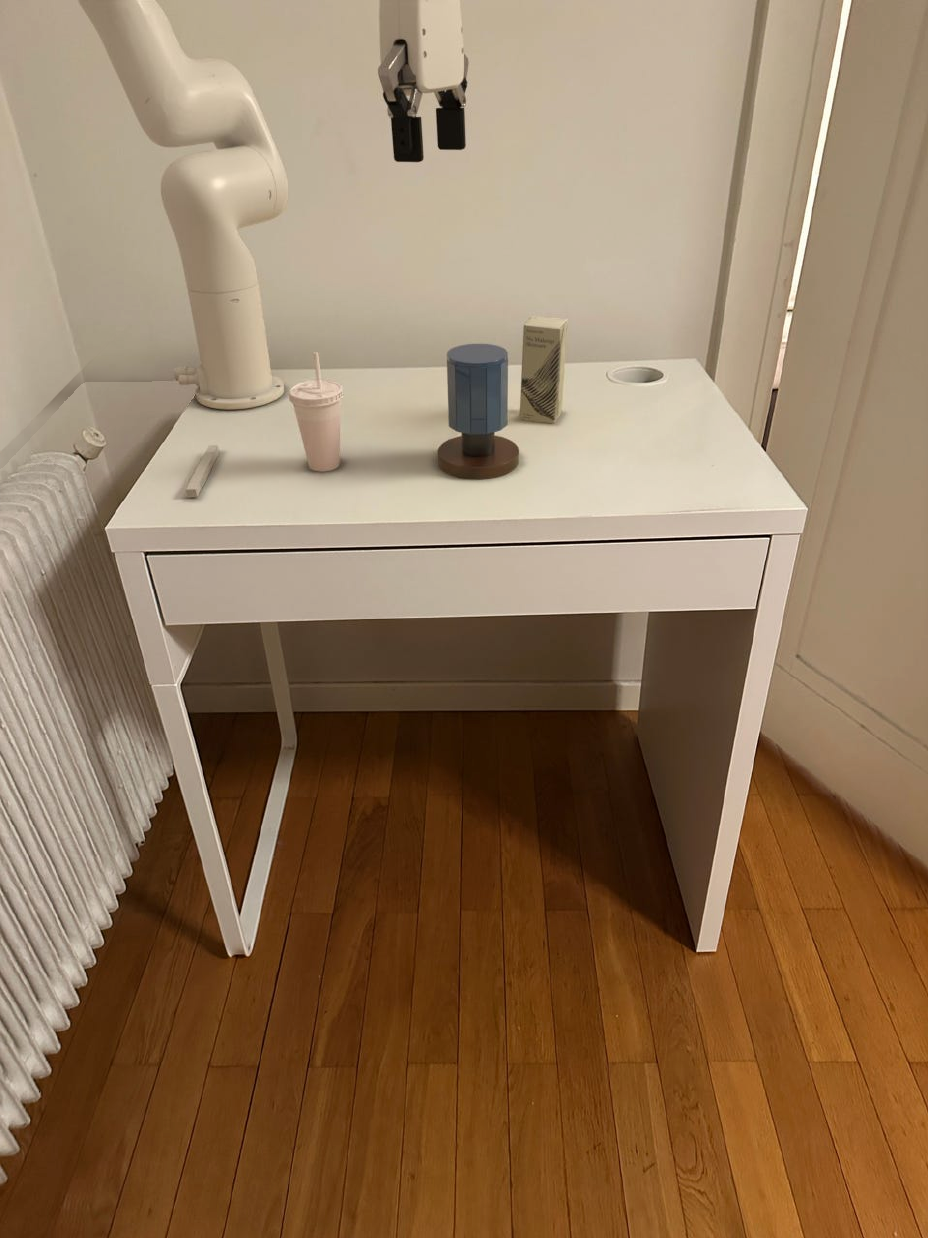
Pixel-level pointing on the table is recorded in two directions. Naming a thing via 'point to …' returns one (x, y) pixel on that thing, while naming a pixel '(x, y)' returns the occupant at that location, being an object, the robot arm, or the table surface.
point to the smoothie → (319, 419)
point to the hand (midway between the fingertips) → (431, 155)
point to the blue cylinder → (477, 388)
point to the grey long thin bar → (202, 471)
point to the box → (543, 368)
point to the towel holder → (478, 456)
